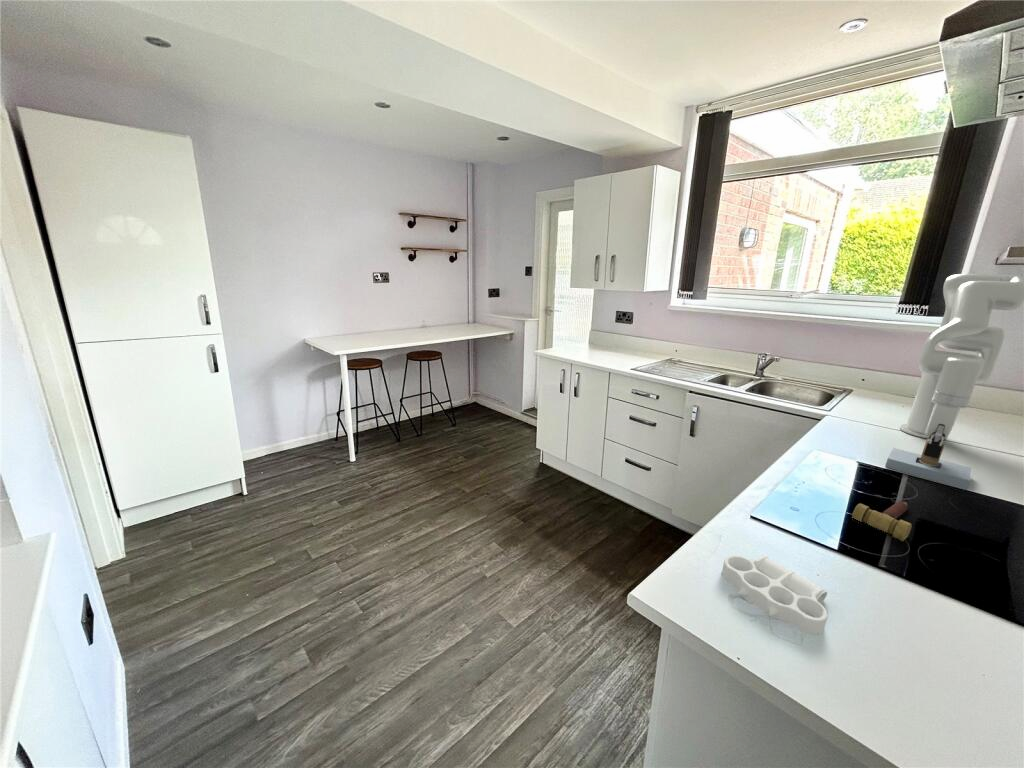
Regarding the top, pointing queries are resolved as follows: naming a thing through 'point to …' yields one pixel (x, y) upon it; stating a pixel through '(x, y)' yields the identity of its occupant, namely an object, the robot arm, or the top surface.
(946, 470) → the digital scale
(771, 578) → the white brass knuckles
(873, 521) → the gavel
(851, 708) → the top surface
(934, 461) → the peg
